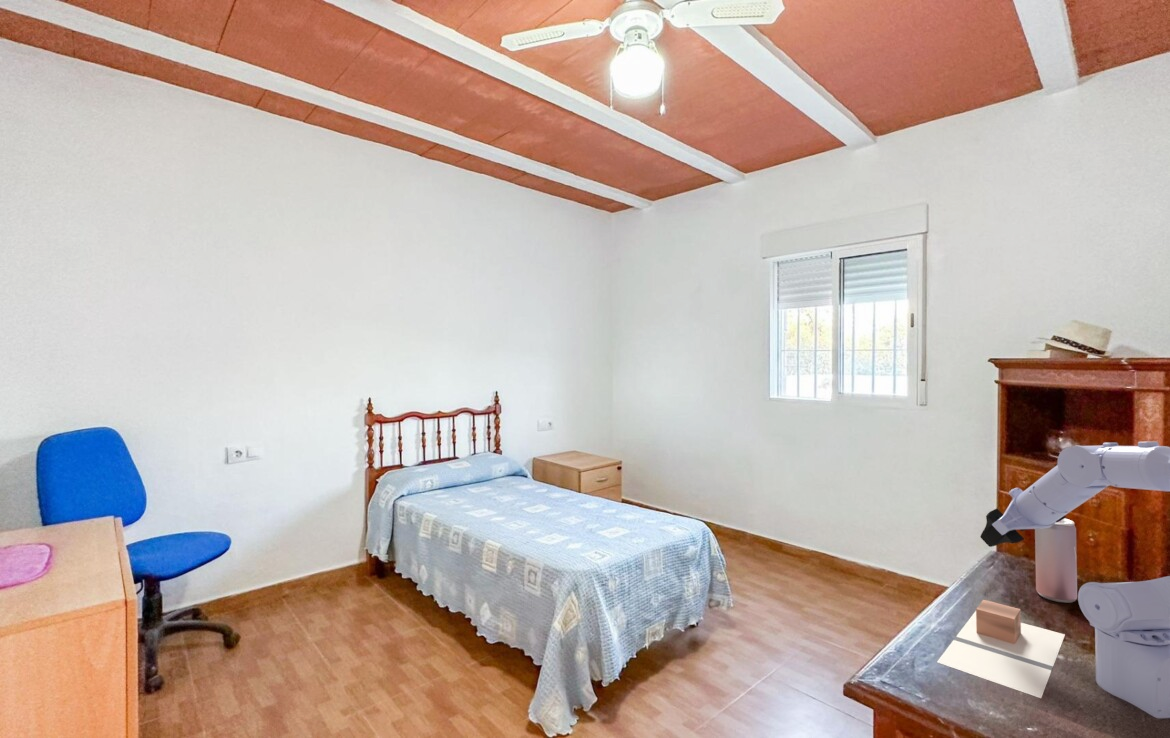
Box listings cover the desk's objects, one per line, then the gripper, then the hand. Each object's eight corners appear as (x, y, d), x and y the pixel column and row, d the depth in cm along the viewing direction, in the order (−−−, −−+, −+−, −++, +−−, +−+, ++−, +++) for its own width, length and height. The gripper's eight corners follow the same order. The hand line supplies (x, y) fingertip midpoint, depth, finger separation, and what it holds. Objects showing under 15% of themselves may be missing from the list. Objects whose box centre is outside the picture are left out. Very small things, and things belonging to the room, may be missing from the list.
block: (983, 622, 91) (983, 599, 91) (1020, 633, 87) (1020, 609, 87) (976, 632, 88) (976, 608, 88) (1014, 644, 84) (1014, 619, 84)
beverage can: (1035, 587, 106) (1034, 513, 106) (1075, 595, 103) (1074, 518, 103) (1036, 598, 102) (1035, 521, 102) (1078, 606, 98) (1077, 526, 98)
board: (976, 615, 95) (975, 610, 95) (1065, 640, 86) (1065, 634, 86) (936, 668, 79) (936, 662, 79) (1041, 705, 70) (1041, 698, 70)
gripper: (1061, 460, 87) (1011, 499, 97) (998, 490, 84) (953, 528, 94) (1103, 496, 83) (1046, 533, 93) (1038, 529, 79) (986, 564, 89)
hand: (1001, 533), depth 93 cm, fingers open, 7 cm apart
